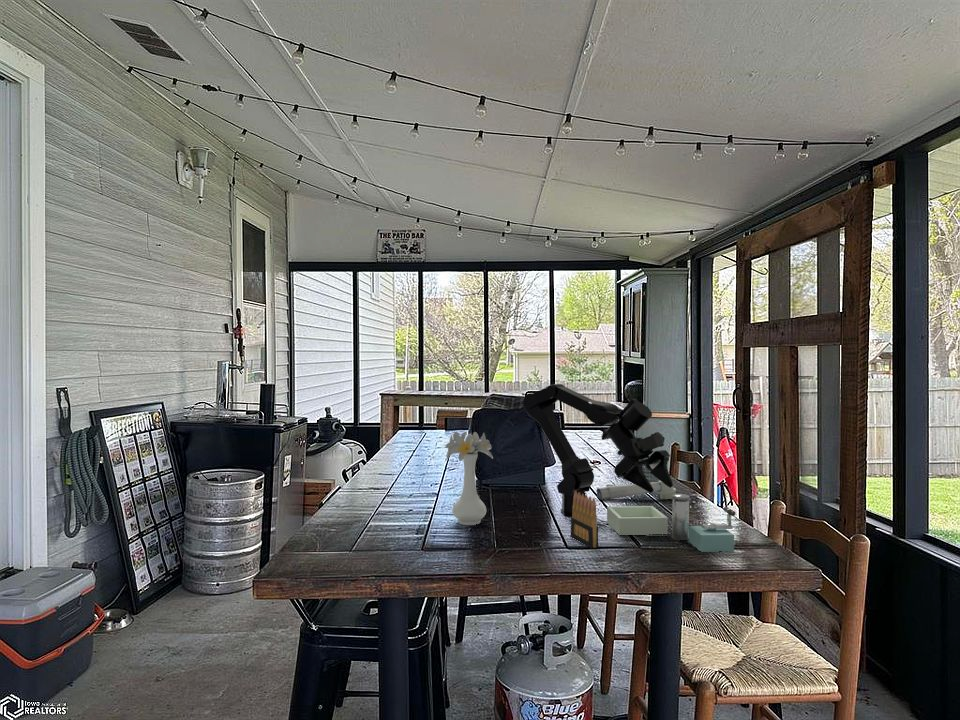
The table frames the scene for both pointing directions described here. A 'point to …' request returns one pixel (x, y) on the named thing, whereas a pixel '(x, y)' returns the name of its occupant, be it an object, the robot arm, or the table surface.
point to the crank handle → (721, 526)
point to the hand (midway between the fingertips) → (662, 489)
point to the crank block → (711, 539)
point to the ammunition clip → (584, 520)
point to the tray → (637, 520)
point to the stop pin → (680, 517)
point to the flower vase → (468, 476)
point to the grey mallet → (634, 491)
